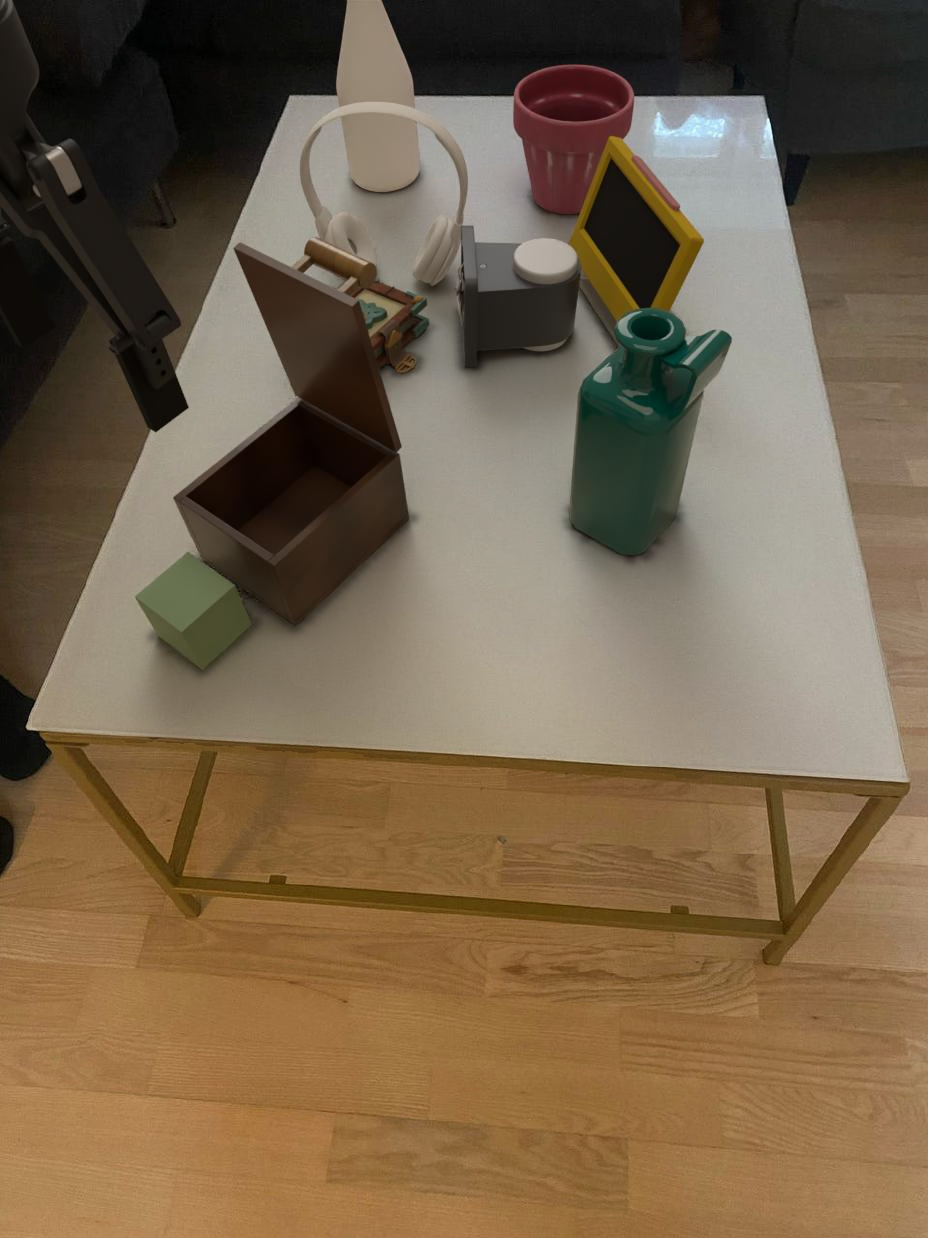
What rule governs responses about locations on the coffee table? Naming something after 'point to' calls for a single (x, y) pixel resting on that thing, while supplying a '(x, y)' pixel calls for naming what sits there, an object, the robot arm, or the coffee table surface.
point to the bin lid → (323, 334)
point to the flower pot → (569, 129)
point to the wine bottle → (376, 100)
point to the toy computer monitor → (631, 238)
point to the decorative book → (391, 322)
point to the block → (194, 610)
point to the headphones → (351, 231)
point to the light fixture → (516, 294)
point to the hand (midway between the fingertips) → (99, 375)
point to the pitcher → (640, 428)
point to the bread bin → (295, 508)
